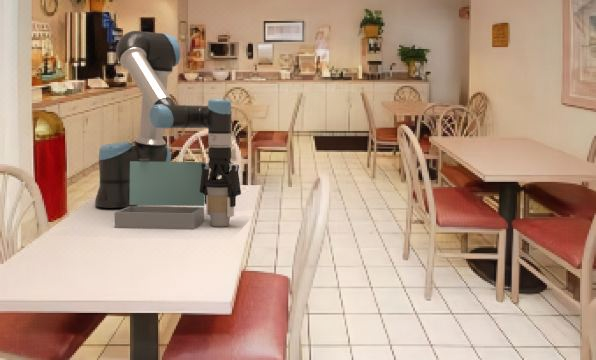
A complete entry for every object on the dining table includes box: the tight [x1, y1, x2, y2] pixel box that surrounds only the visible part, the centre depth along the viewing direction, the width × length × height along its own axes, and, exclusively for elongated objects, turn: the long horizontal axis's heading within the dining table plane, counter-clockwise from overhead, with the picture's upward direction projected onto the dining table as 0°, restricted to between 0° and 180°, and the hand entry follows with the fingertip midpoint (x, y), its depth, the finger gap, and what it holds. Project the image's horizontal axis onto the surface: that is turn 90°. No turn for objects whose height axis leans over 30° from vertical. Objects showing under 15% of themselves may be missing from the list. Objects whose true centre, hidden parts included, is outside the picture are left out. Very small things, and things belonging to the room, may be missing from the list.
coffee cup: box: [206, 178, 232, 228], centre depth 205 cm, size 9×9×15 cm
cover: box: [130, 158, 206, 207], centre depth 213 cm, size 16×26×2 cm
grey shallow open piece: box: [114, 205, 205, 230], centre depth 207 cm, size 15×26×5 cm, turn 86°
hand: (220, 215), depth 205 cm, fingers closed on coffee cup, 8 cm apart
